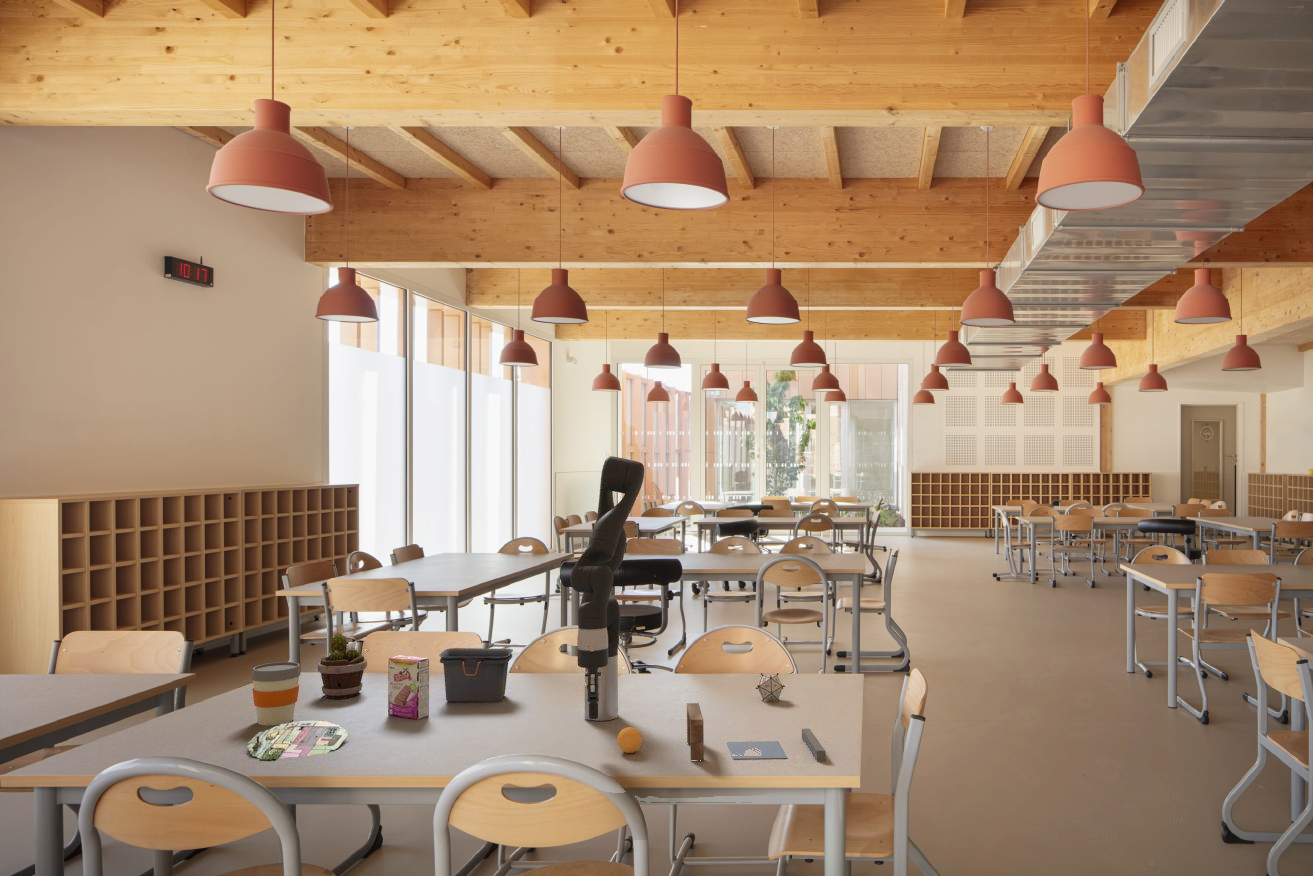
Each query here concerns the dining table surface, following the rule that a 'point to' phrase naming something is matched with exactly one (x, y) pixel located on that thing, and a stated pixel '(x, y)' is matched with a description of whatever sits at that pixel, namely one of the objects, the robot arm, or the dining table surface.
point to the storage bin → (475, 674)
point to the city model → (297, 740)
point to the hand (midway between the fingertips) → (593, 718)
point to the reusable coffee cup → (275, 691)
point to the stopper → (813, 744)
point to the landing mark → (767, 747)
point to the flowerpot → (341, 670)
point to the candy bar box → (408, 687)
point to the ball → (629, 740)
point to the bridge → (695, 731)
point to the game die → (770, 687)
